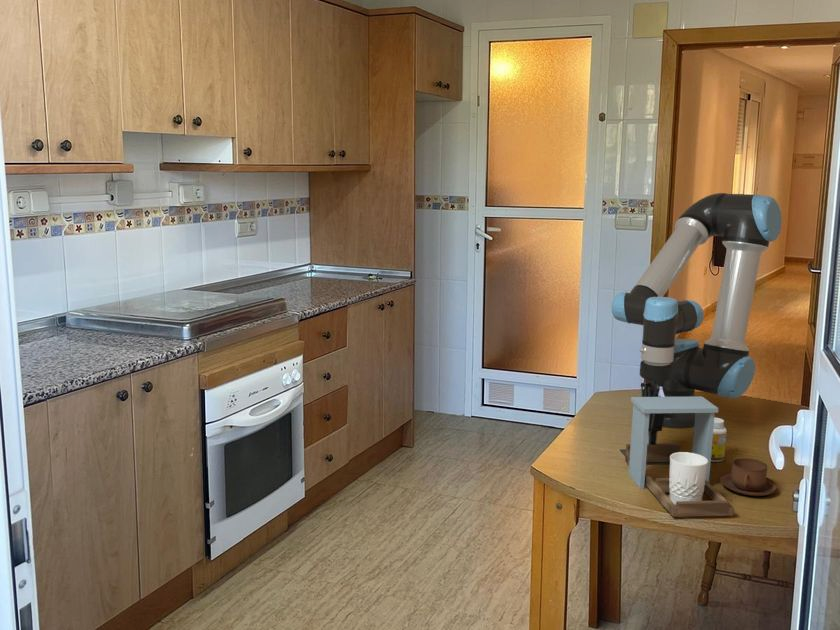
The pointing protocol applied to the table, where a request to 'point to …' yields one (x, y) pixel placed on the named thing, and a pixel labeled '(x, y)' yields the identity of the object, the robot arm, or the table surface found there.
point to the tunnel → (669, 405)
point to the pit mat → (647, 462)
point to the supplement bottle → (718, 440)
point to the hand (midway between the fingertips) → (649, 454)
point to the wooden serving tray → (662, 485)
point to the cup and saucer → (748, 478)
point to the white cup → (687, 476)
